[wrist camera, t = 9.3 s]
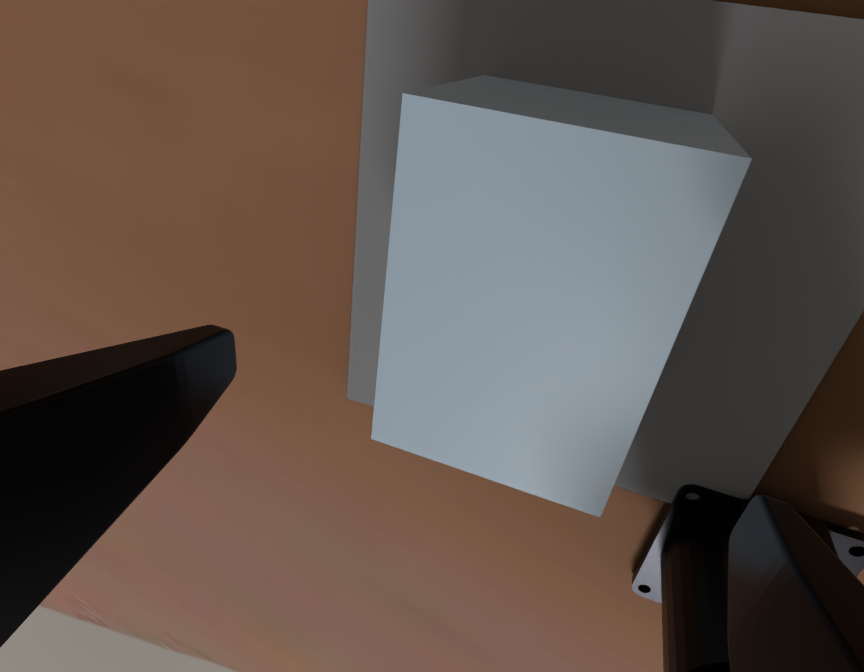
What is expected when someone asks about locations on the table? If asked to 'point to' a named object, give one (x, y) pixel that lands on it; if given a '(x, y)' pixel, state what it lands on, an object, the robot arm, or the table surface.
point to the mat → (744, 227)
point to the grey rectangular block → (541, 276)
